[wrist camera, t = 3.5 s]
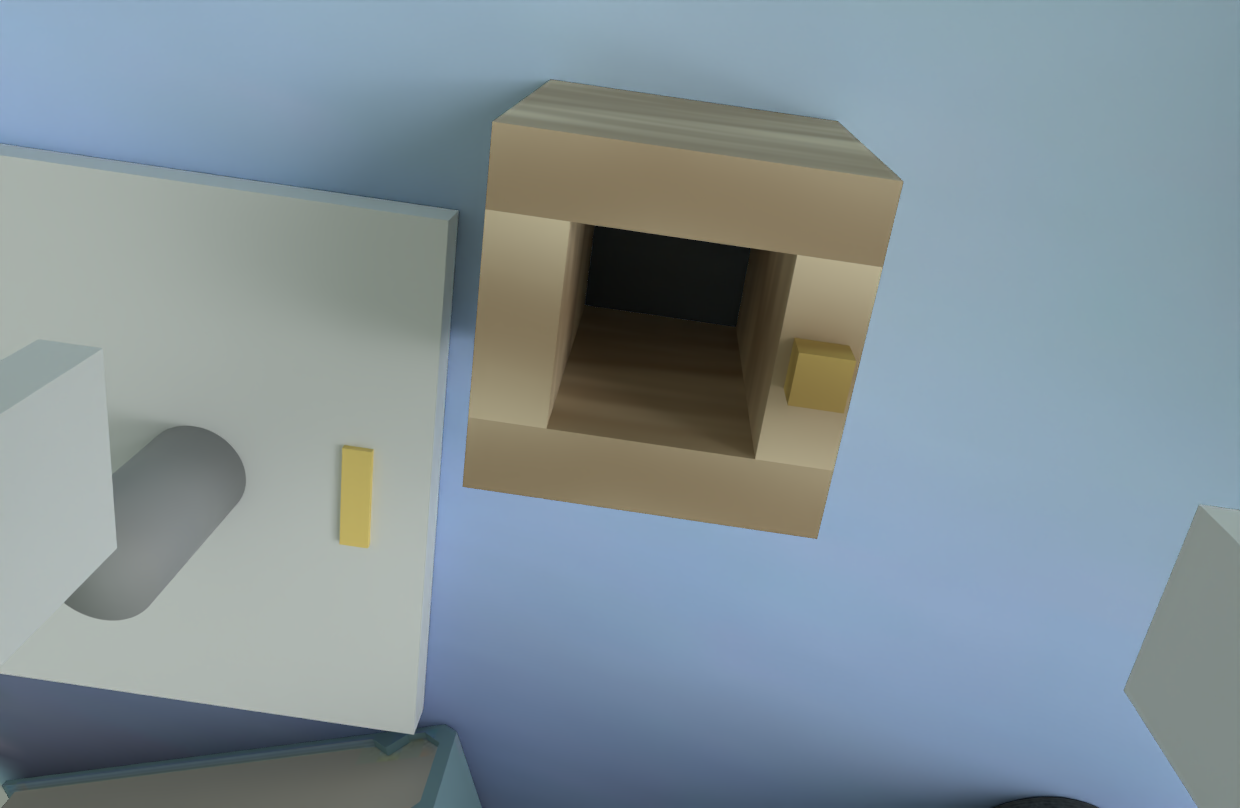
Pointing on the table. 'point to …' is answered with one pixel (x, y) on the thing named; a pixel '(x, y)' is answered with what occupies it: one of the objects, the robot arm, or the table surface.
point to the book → (276, 777)
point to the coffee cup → (1046, 803)
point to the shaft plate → (244, 430)
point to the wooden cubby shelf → (664, 346)
